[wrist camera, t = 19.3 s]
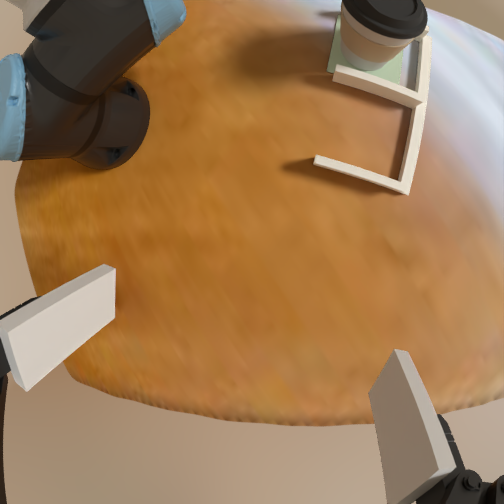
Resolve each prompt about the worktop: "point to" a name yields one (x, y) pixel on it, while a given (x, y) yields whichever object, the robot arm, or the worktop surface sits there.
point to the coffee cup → (379, 30)
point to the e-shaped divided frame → (396, 94)
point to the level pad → (387, 72)
